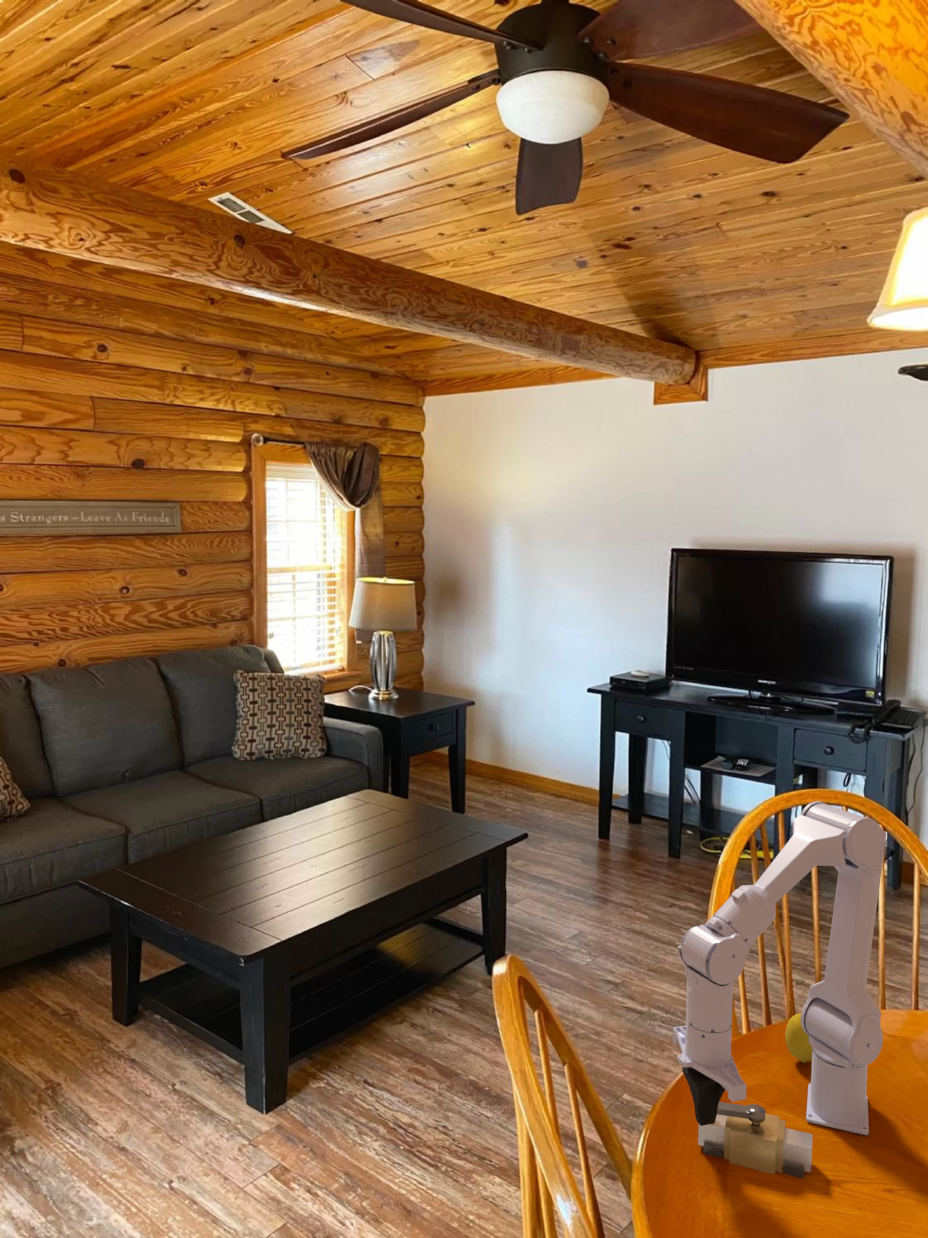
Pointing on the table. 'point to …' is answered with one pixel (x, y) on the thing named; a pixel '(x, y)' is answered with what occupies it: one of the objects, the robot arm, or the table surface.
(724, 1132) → the valve
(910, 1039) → the table surface
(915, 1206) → the table surface
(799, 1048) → the lemon
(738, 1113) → the lever
